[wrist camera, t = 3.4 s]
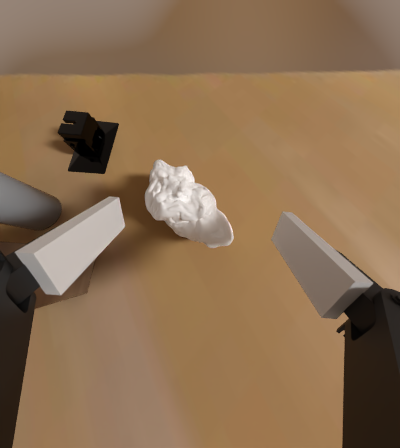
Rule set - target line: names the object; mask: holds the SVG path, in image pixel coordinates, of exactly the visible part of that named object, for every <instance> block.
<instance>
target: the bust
mask: <svg viewBox="0 0 400 448" xmlns="http://www.w3.org/2000/svg"><path fill="white" fill-rule="evenodd" d="M149 182H150V185H149V187H148V188H147V190H146V192H145V204H146V208H147V210H148V211H149V212H150V213H151V215H152V217H153V218H155V220H164V221H165V222H166V223H167V225H168V226H169V227H171V228H172V229H173V231H174V232H175V233H176V234H178V235H179V236H181V237H186V238H188V239H189V240H192V241H198V242H203V243H204V244H206V246H207V247H210V248H215V247H218V246H227V245H230V244H231V242H232V240H233V238H234V237H233V230H232V227H231V225H230V223H229V222H228V221H227V218H226V216H225V215H224V214H223V213H222V212H221V211H219V210H218V209H217V208H216V200H215V198H214V196H213V194H212V193H211V192H210V191H209V189H207V188H206V187H204V186H202V185H201V184H198V183H194V177H193V175H192V172H191V171H190V170H189V169H188V168H187V166H183V167H173V166H169V165H168V164H166V163H165V162H164V161H162V160H156V161H155V162H154V164H153V169H152V170H151V172H150V179H149Z"/></svg>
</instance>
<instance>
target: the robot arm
mask: <svg viewBox="0 0 400 448" xmlns="http://www.w3.org/2000/svg"><path fill="white" fill-rule="evenodd" d="M124 227H125V223H124V218H123V214H122V209H121V204H120V200H119V197H111V196H109V197H108V198H106V199H104V200H102V201H101V202H99V203H97V204H96V205H94V206H92V207H90V208H89V209H87V210H85V211H84V212H82V213H80V214H79V215H77V216H75V217H73V218H72V219H70V220H68V221H67V222H65V223H63V224H62V225H60V226H58V227H56V228H54V229H52V230H50V231H48V232H47V233H45V234H44V235H41V236H40V237H38V238H37V239H34V240H33V241H31V242H29V243H28V244H26V245H24V246H22V247H21V248H19V249H17V250H16V251H14V252H12V253H10V254H9V255H7V256H4V254H3V253H2V252H1V251H0V448H12V445H13V439H14V433H15V427H16V420H17V414H18V408H19V402H20V396H21V390H22V383H23V377H24V371H25V365H26V359H27V353H28V346H29V340H30V334H31V328H32V322H33V315H34V309H35V303H36V294H35V293H34V291H35V290H36V289H38V288H39V287H41V288H42V290H43V291H44V292H45V294H51V295H62V294H63V293H64V292H65V291H66V290H67V289H68V287H69V286H70V285H71V284H72V283H73V282H74V281H75V280H76V279H77V278H78V277H79V276H80V275H81V273H82V272H83V271H84V270H85V269H86V268H87V267H88V266H89V265H90V264H91V263H92V262H93V261H94V260H95V258H96V257H97V256H98V255H99V254H100V253H101V252H102V251H103V250H104V249H105V248H106V247H107V246H108V245H109V243H110V242H111V241H112V240H113V239H114V238H115V237H116V236H117V235H118V234H119V233H120V232H121V231H122V230H123V228H124ZM271 240H272V241H273V243H274V244H275V246H276V248H277V249H278V251H279V252H280V254H281V255H282V257H283V259H284V260H285V262H286V263H287V265H288V266H289V268H290V269H291V271H292V273H293V274H294V276H295V277H296V279H297V280H298V282H299V283H300V285H301V287H302V288H303V290H304V291H305V293H306V294H307V296H308V298H309V299H310V301H311V302H312V304H313V305H314V307H315V308H316V310H317V312H318V313H319V315H320V316H321V318H331V319H337V318H338V317H339V316H340V315H341V314H342V313H343V312H344V313H345V314H346V315H347V316H348V318H349V319H348V320H347V321H346V322H345V323H343V324H342V325H341V326H340V327H339V328H338V329H337V331H336V332H338V333H340V332H341V331H343V330H345V334H344V335H343V336H344V337H345V351H344V398H343V445H342V448H400V292H398V291H395V290H393V289H387V288H385V289H383V288H382V287H380V286H379V285H378V284H377V283H376V282H375V281H373V280H372V279H371V278H370V277H369V276H367V275H366V274H365V273H364V272H363V271H362V270H360V269H359V268H358V267H356V266H355V264H353V263H352V262H351V261H349V259H347V258H346V257H345V256H344V255H343V254H342V253H340V252H338V251H337V250H335V249H334V248H332V247H331V246H330V245H329V244H328V243H327V242H325V241H324V240H323V239H322V238H321V237H320V236H319V235H317V234H316V233H315V232H314V231H313V230H312V229H310V228H309V227H308V226H307V225H306V224H305V223H303V222H302V221H301V220H300V219H299V218H298V217H297V216H295V215H294V214H293V213H292V212H282V214H281V216H280V219H279V221H278V224H277V226H276V229H275V231H274V234H273V236H272V239H271Z"/></svg>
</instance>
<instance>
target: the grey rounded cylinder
mask: <svg viewBox="0 0 400 448" xmlns="http://www.w3.org/2000/svg"><path fill="white" fill-rule="evenodd" d="M60 214H61V203H60V201H59V200H58V199H57V198H56V197H54V196H52V195H49V194H47V193H45V192H43V191H41V190H39V189H36V188H34V187H32V186H30V185H28V184H25V183H23V182H21V181H19V180H17V179H14V178H12V177H10V176H8V175H6V174H3V173H1V172H0V224H5V225H10V226H16V227H21V228H26V229H31V230H42V229H46V228H48V227H50V226H51V225H53V224H54V223H55V222H56V221H57V219H58V218H59V216H60Z"/></svg>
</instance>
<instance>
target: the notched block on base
mask: <svg viewBox="0 0 400 448" xmlns="http://www.w3.org/2000/svg"><path fill="white" fill-rule="evenodd" d="M63 120H64V122H65V123H73V124H63V123H61V126H60V128H59V131H58V134H59V135H60V136H61V137H63V138H64V142H65V143H66V144H67V145H69V146H70V147H71V148H72V149H73V150H74V153H73V156H72V159H71V162H70V165H69V168H68V171H71V172H85V173H98V174H105V171H106V168H107V164H108V161H109V157H110V154H111V150H112V147H113V143H114V140H115V136H116V133H117V129H118V126H119V124H118V123H111V122H101V121H96V120H95V119H94V118H93V117H91V116H90V114H89V113H86V112H76V111H66V113H65V115H64V118H63Z"/></svg>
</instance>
